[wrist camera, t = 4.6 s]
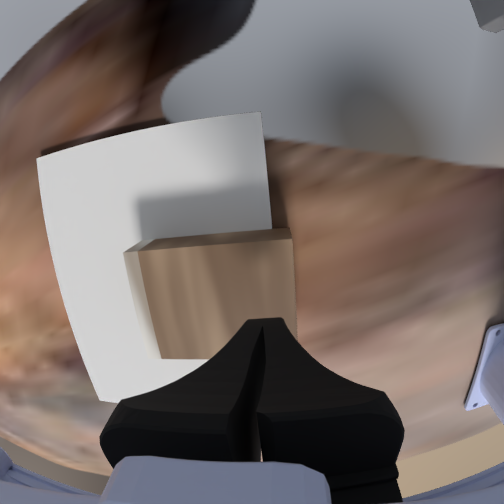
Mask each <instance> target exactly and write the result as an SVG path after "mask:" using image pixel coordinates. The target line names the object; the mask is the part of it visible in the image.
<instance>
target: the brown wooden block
mask: <svg viewBox="0 0 504 504" xmlns="http://www.w3.org/2000/svg"><path fill="white" fill-rule="evenodd" d="M123 256H124V261H125V266H126V271H127V276H128V280H129V285H130V289H131V294H132V298H133V302H134V307H135V311H136V315H137V319H138V323H139V327H140V330H141V334H142V338H143V342H144V345H145V349H146V352H147V356H148V359H211V358H212V357H213V356H214V355H215V354H216V353H217V352H219V351H220V350H221V349H222V348H223V347H224V346H225V345H226V344H227V343H228V341H229V340H230V339H231V338H232V337H233V336H234V335H235V334H236V332H237V331H238V330H239V329H240V328H241V326H242V325H243V324H244V323H245V322H246V321H247V319H259V318H275V317H282V318H283V319H284V321H285V323H286V325H287V327H288V329H289V330H290V332H291V333H292V335H293V336H294V337H295V339H296V340H297V341H298V339H297V315H296V294H295V276H294V259H293V243H292V236H291V232H290V228H278V229H265V230H252V231H240V232H228V233H216V234H205V235H194V236H183V237H172V238H161V239H151V240H142V241H140V242H139V243H137V244H135V245H134V246H132V247H131V248H129V249H128V250H126V251H125V252H123Z"/></svg>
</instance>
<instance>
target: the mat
mask: <svg viewBox="0 0 504 504" xmlns="http://www.w3.org/2000/svg"><path fill="white" fill-rule="evenodd" d="M37 167H38V177H39V185H40V193H41V200H42V206H43V213H44V219H45V224H46V230H47V235H48V240H49V245H50V250H51V254H52V259H53V263H54V267H55V271H56V275H57V279H58V283H59V287H60V290H61V294H62V298H63V301H64V304H65V308H66V311H67V314H68V318H69V321H70V324H71V327H72V330H73V333H74V336H75V339H76V342H77V345H78V347H79V350H80V353H81V355H82V358H83V361H84V363H85V366H86V369H87V371H88V374H89V376H90V378H91V381H92V383H93V386H94V388H95V390H96V393H97V395H98V397H99V400H100V401H107V402H115V403H119V402H120V401H121V399H125V398H129V397H133V396H137V395H140V394H143V393H147V392H150V391H153V390H155V389H158V388H160V387H163V386H165V385H168V384H170V383H172V382H174V381H176V380H178V379H180V378H182V377H183V376H185V375H187V374H189V373H190V372H192V371H194V370H195V369H197V368H198V367H200V366H201V365H203V364H204V363H205V362H207V361H208V360H209V359H148V356H147V352H146V349H145V345H144V342H143V338H142V334H141V330H140V327H139V323H138V319H137V315H136V311H135V307H134V302H133V298H132V294H131V289H130V285H129V280H128V276H127V271H126V266H125V261H124V256H123V252H125V251H126V250H128V249H129V248H131V247H132V246H134V245H135V244H137V243H139V242H140V241H142V240H151V239H161V238H172V237H183V236H194V235H205V234H216V233H228V232H240V231H252V230H265V229H272V220H271V209H270V198H269V187H268V176H267V166H266V156H265V146H264V136H263V126H262V117H261V112H250V113H241V114H232V115H225V116H217V117H210V118H203V119H197V120H190V121H184V122H178V123H173V124H167V125H162V126H157V127H152V128H147V129H142V130H138V131H133V132H129V133H124V134H120V135H116V136H112V137H108V138H104V139H100V140H96V141H93V142H89V143H85V144H82V145H78V146H75V147H71V148H68V149H65V150H61V151H58V152H55V153H52V154H49V155H45V156H42V157H39V158H37Z"/></svg>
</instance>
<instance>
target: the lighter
mask: <svg viewBox="0 0 504 504" xmlns="http://www.w3.org/2000/svg"><path fill="white" fill-rule="evenodd" d="M470 2H471V5H472V7H473V10H474V12H475V15H476V18H477V21H478V24H479V27H480V28H481V29H483V30H486V31H490V32H494V33H497V32H499V31H501V30H503V29H504V0H470Z"/></svg>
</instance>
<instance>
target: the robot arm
mask: <svg viewBox="0 0 504 504" xmlns="http://www.w3.org/2000/svg"><path fill="white" fill-rule="evenodd" d="M487 404H489V405H490V406H491V407H492V409H493V410H494V412H495V413H496V415H497V416H498V417H499V419H500V420H501V422H502V423H503V425H504V323H502V324H498V325H494V326H491V327H490V328H489V329H488V330H487V332H486V336H485V340H484V344H483V348H482V352H481V355H480V359H479V362H478V366H477V369H476V373H475V376H474V379H473V382H472V385H471V388H470V391H469V394H468V397H467V400H466V403H465V405H464V408H465V410H466V411H469V410H472V409H475V408H478V407H481V406H484V405H487ZM404 431H405V430H404V427H403V424H402V421H401V418H400V416H399V414H398V412H397V410H396V409H395V407H394V406H393V404H392V403H391V401H390V400H389V398H388V397H387V395H386V394H385V392H383V391H380V390H376V389H373V388H369V387H366V386H363V385H360V384H357V383H355V382H352V381H350V380H348V379H345V378H343V377H341V376H339V375H337V374H336V373H334V372H332V371H331V370H329V369H327V368H326V367H324V366H323V365H321V364H320V363H319V362H318V361H316V360H315V359H314V358H313V357H312V356H311V355H310V354H309V353H308V352H307V351H306V350H305V349H304V348H303V347H302V346H301V345H300V344H299V343H298V341H297V340H296V339H295V337H294V336H293V335H292V333H291V332H290V330H289V329H288V327H287V325H286V323H285V321H284V319H283V318H282V317H275V318H259V319H247V321H246V322H245V323H244V324H243V325H242V326H241V328H240V329H239V330H238V331H237V332H236V334H235V335H234V336H233V337H232V338H231V339H230V340H229V341H228V343H227V344H226V345H225V346H224V347H223V348H222V349H221V350H220V351H219V352H217V353H216V354H215V355H214V356H213V357H212V358H211V359H209V360H208V361H207V362H205V363H204V364H203V365H201V366H200V367H198V368H197V369H195V370H194V371H192V372H190V373H189V374H187V375H185V376H183V377H182V378H180V379H178V380H176V381H174V382H172V383H170V384H168V385H165V386H163V387H160V388H158V389H155V390H153V391H150V392H147V393H143V394H140V395H137V396H133V397H129V398H125V399H121V401H120V402H119V403H118V405H117V407H116V408H115V410H114V411H113V413H112V415H111V416H110V418H109V420H108V422H107V424H106V425H105V427H104V429H103V431H102V433H101V435H100V446H101V448H102V450H103V453H104V454H105V456H106V458H107V459H108V461H109V463H110V464H111V466H112V467H113V469H114V470H113V472H112V474H111V476H110V478H109V481H108V482H107V485H106V487H105V489H104V491H103V493H102V495H98V494H94V493H91V492H87V491H84V490H81V489H78V488H75V487H72V486H69V485H66V484H63V483H60V482H57V481H55V480H52V479H49V478H47V477H44V476H41V475H39V474H36V473H34V472H32V471H30V470H27V469H25V468H23V467H20V466H18V465H16V464H14V463H13V462H12V460H11V458H10V457H9V455H8V454H7V453H6V452H5V451H4V450H3V449H2V448H1V447H0V504H504V462H502V463H500V464H498V465H496V466H494V467H491V468H489V469H487V470H485V471H482V472H480V473H478V474H475V475H473V476H470V477H468V478H465V479H462V480H460V481H457V482H454V483H452V484H449V485H446V486H443V487H440V488H437V489H434V490H431V491H428V492H424V493H421V494H417V495H414V496H410V497H407V498H402V496H401V493H400V490H399V487H398V483H397V480H396V479H397V478H398V476H399V472H398V469H397V466H396V460H397V457H398V455H399V452H400V449H401V446H402V442H403V439H404ZM261 451H262V458H263V462H261Z"/></svg>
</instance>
